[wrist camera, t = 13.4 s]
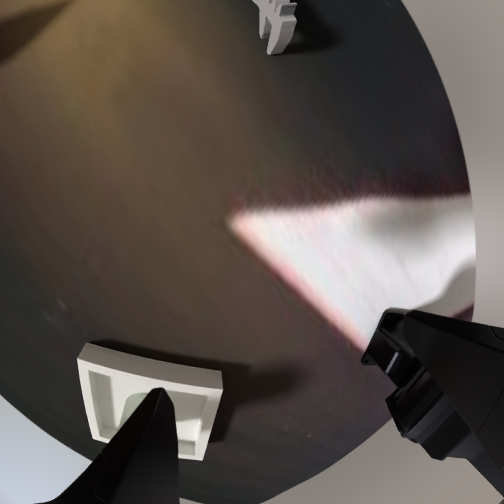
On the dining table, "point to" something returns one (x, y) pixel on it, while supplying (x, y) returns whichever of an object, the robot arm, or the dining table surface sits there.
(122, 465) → the robot arm
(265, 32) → the caliper
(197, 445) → the tray
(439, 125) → the dining table surface
